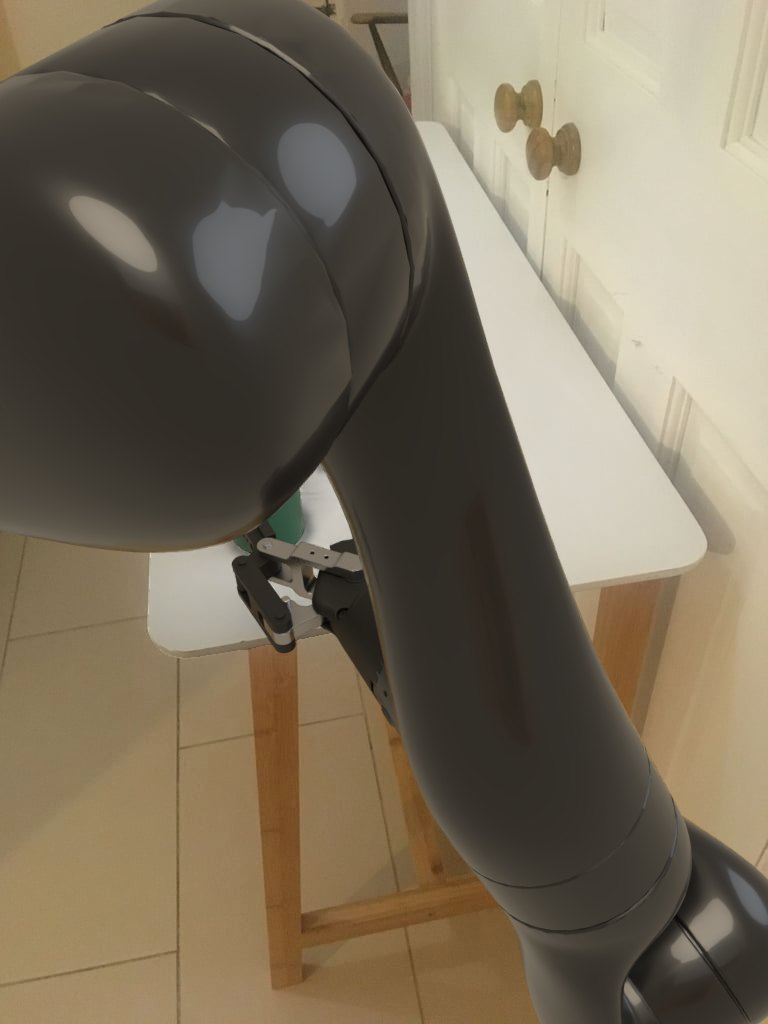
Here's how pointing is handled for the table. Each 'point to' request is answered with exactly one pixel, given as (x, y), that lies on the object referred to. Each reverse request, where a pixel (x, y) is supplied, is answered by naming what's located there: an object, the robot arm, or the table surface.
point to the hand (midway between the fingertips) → (311, 489)
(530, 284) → the table surface
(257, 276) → the robot arm
